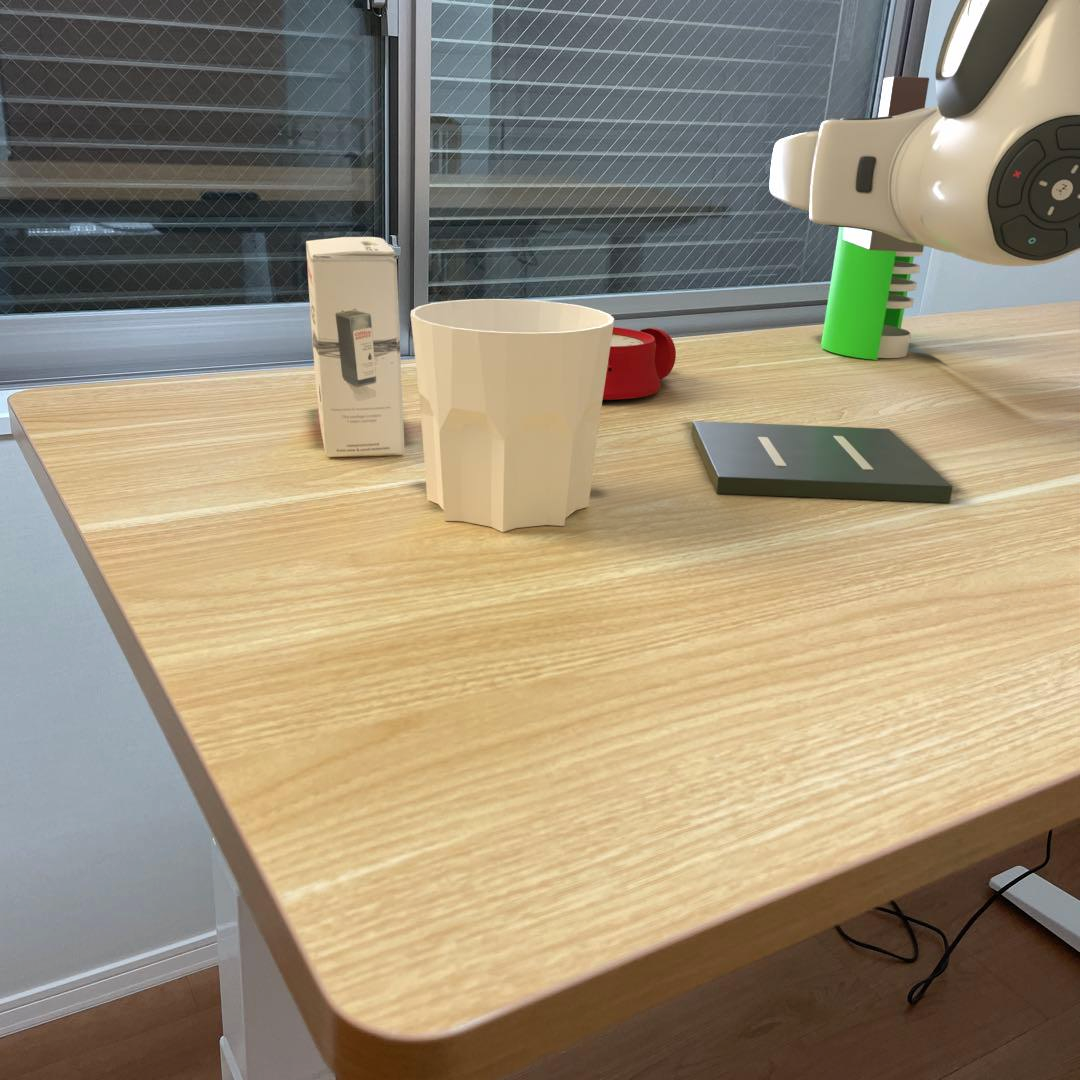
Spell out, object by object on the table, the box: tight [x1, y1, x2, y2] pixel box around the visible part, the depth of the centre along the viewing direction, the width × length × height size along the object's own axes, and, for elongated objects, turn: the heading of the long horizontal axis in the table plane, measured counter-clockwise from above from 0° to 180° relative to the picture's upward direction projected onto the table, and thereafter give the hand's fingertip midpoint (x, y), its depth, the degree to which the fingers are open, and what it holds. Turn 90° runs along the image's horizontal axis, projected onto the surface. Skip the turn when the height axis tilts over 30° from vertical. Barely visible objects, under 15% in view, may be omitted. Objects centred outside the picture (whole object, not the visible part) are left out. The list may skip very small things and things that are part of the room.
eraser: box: [843, 75, 930, 253], centre depth 78 cm, size 8×4×12 cm, turn 179°
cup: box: [410, 298, 615, 533], centre depth 53 cm, size 10×10×10 cm
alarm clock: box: [603, 326, 677, 401], centre depth 81 cm, size 10×6×15 cm
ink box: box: [305, 236, 405, 458], centre depth 63 cm, size 9×5×12 cm, turn 14°
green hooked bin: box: [820, 227, 924, 361], centre depth 96 cm, size 9×8×18 cm
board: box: [690, 420, 954, 504], centre depth 63 cm, size 13×12×1 cm
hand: (888, 170), depth 79 cm, fingers closed on eraser, 2 cm apart
